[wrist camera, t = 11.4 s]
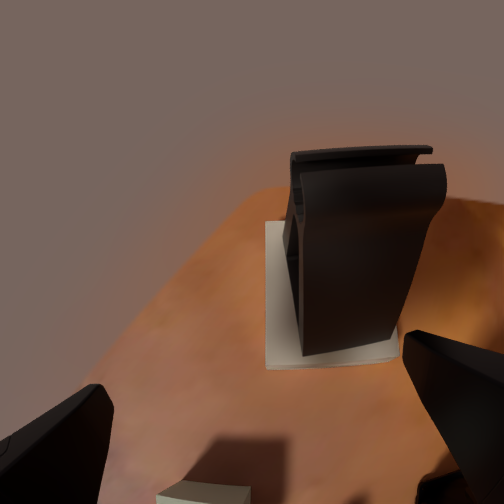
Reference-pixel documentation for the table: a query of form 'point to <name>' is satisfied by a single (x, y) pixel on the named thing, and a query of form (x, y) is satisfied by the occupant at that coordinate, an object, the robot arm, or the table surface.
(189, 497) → the sage cube
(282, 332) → the base block
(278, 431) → the table surface
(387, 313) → the phone stand
